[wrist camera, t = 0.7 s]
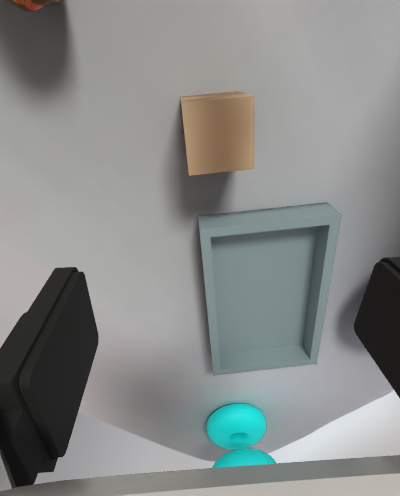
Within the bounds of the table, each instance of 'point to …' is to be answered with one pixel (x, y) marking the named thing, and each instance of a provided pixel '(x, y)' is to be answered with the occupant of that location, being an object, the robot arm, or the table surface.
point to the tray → (267, 284)
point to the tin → (30, 4)
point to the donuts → (238, 435)
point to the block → (218, 132)
